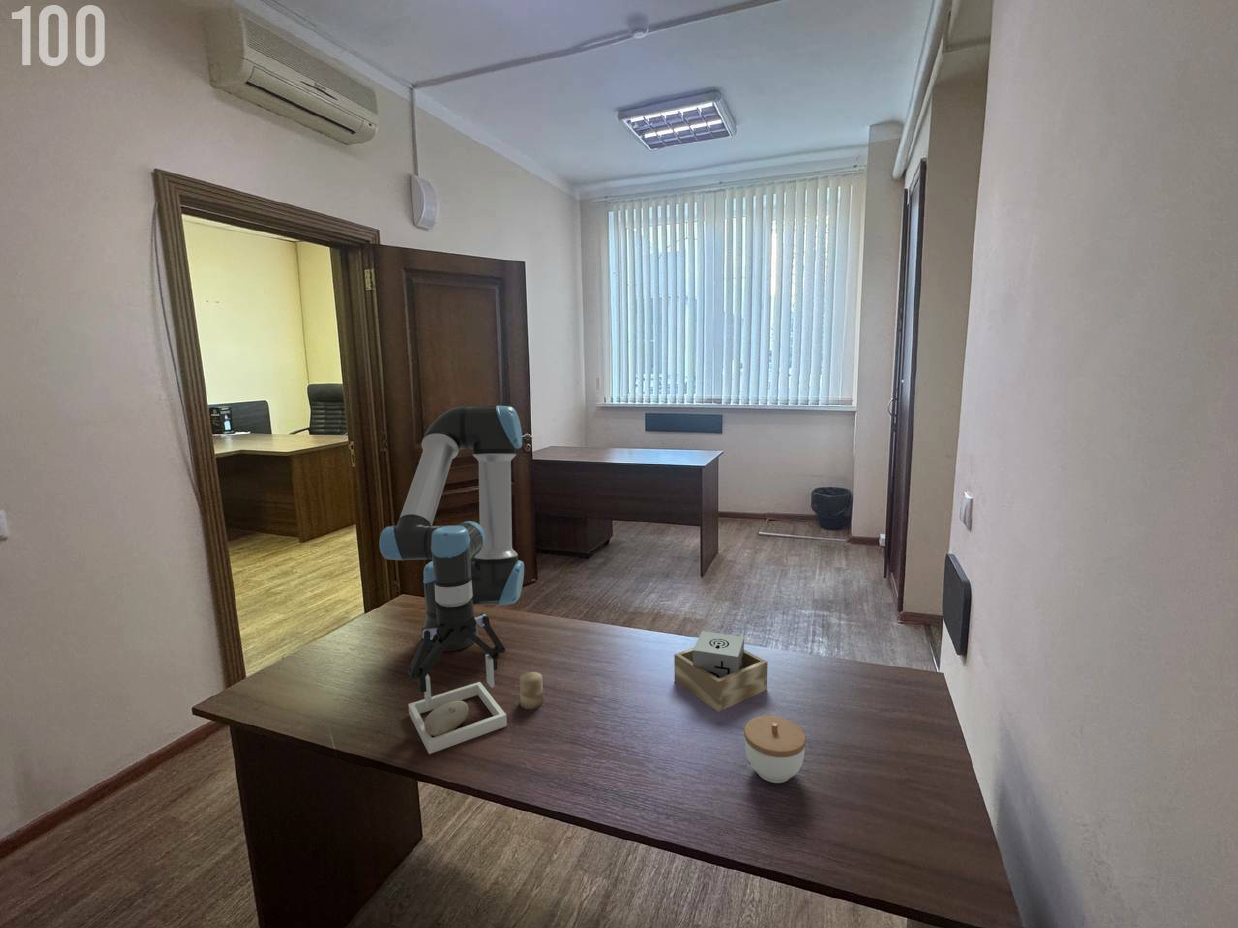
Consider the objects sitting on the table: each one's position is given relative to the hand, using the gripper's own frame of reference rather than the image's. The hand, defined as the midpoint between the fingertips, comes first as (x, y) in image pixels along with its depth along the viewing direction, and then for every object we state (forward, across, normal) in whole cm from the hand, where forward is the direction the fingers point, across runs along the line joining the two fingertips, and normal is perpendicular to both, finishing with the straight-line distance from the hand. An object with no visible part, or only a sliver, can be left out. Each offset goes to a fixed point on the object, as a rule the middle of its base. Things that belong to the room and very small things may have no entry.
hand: (460, 694), depth 123 cm
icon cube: (+4, -53, +24) cm, 58 cm away
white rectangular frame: (+5, +2, +2) cm, 5 cm away
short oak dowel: (+5, -14, +4) cm, 16 cm away
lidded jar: (+5, -42, +50) cm, 66 cm away
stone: (+4, 0, 0) cm, 4 cm away
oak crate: (+5, -54, +24) cm, 59 cm away
